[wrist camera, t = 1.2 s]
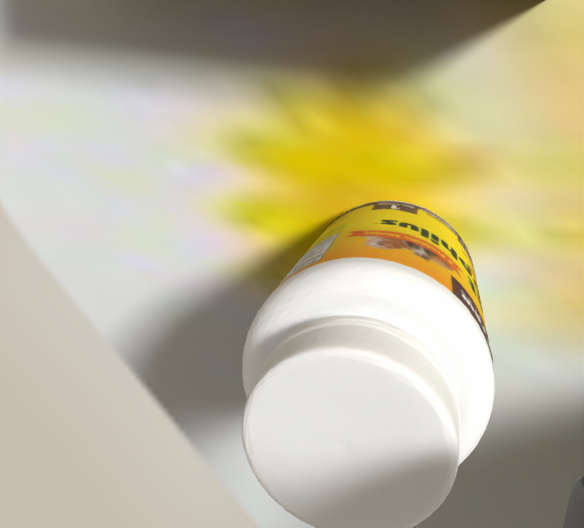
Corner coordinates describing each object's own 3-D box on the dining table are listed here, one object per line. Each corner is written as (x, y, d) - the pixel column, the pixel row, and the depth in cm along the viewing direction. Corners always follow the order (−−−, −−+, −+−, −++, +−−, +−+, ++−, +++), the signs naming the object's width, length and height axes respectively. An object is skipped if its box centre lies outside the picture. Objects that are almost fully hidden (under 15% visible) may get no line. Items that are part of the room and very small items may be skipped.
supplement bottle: (510, 282, 18) (587, 488, 9) (385, 375, 20) (340, 620, 11) (396, 159, 18) (350, 237, 9) (281, 266, 20) (143, 420, 11)
